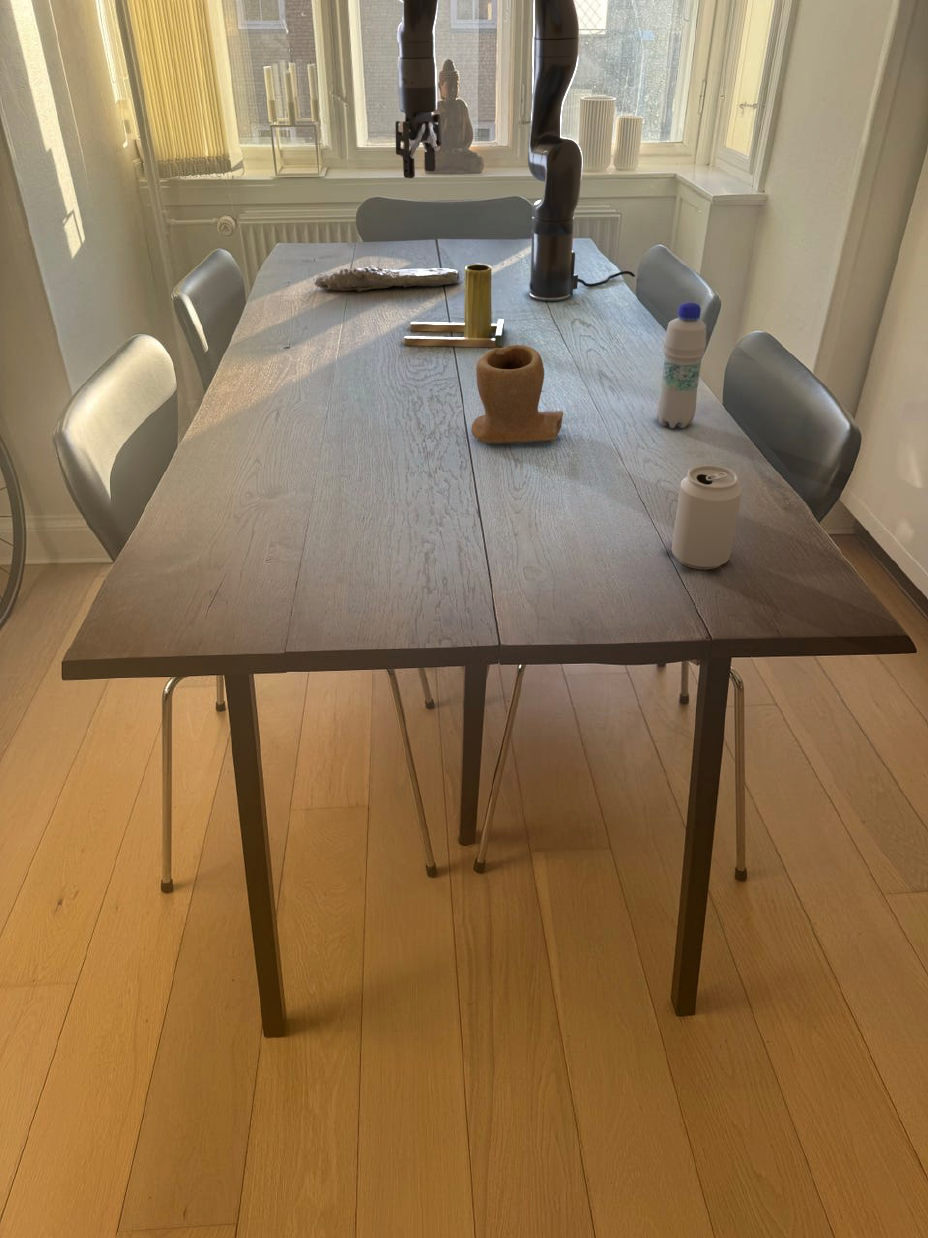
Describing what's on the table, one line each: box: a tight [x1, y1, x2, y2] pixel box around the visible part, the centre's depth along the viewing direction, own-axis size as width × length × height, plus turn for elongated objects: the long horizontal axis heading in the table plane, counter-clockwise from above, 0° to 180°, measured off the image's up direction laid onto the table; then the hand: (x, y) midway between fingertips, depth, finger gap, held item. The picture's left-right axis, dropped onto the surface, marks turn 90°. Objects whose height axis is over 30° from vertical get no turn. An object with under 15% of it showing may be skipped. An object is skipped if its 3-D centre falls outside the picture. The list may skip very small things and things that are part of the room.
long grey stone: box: [313, 265, 461, 292], centre depth 226 cm, size 35×5×10 cm
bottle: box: [656, 301, 707, 429], centre depth 154 cm, size 7×7×20 cm
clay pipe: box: [470, 344, 564, 445], centre depth 150 cm, size 15×12×15 cm
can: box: [670, 464, 743, 571], centre depth 120 cm, size 8×8×12 cm
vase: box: [462, 263, 494, 338], centre depth 191 cm, size 6×6×14 cm
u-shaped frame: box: [403, 318, 505, 349], centre depth 195 cm, size 20×10×2 cm, turn 85°
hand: (420, 174), depth 194 cm, fingers open, 8 cm apart
